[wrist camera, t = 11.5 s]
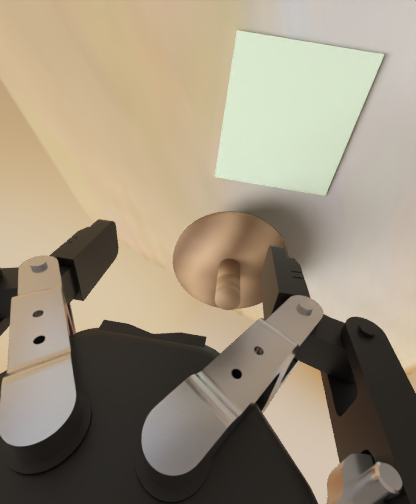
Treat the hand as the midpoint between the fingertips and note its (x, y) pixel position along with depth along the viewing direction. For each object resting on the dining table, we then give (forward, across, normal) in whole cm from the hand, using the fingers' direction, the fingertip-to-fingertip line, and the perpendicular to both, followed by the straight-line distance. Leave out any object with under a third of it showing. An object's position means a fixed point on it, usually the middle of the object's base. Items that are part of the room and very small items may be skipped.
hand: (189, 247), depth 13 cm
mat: (+28, -8, -4) cm, 29 cm away
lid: (+20, -3, +15) cm, 25 cm away
